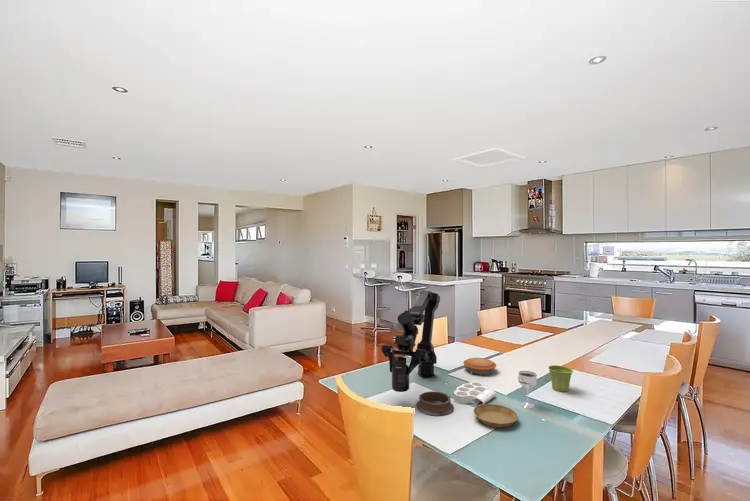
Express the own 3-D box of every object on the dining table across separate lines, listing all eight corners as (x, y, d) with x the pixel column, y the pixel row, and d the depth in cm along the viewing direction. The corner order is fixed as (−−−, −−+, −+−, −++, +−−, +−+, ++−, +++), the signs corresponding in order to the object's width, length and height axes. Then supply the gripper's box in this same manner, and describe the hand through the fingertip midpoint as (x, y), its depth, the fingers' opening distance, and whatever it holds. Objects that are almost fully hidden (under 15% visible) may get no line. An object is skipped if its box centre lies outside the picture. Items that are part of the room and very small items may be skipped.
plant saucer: (465, 420, 126) (465, 413, 126) (486, 406, 137) (486, 400, 137) (505, 436, 116) (505, 428, 116) (524, 420, 126) (524, 412, 126)
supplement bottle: (411, 387, 141) (411, 356, 141) (405, 393, 135) (405, 362, 135) (395, 384, 144) (395, 354, 144) (389, 390, 138) (388, 359, 138)
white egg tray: (479, 410, 134) (445, 399, 144) (499, 395, 147) (466, 386, 157) (479, 402, 134) (445, 391, 144) (499, 387, 147) (466, 378, 157)
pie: (500, 376, 167) (500, 366, 167) (467, 376, 168) (467, 366, 167) (490, 365, 183) (490, 355, 183) (460, 365, 183) (460, 355, 183)
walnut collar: (441, 397, 145) (441, 388, 145) (461, 412, 132) (461, 402, 132) (410, 402, 140) (410, 393, 140) (427, 418, 127) (427, 408, 127)
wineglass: (535, 410, 133) (535, 378, 132) (516, 406, 136) (516, 374, 136) (538, 403, 138) (538, 372, 138) (519, 399, 142) (519, 369, 142)
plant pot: (552, 383, 159) (552, 363, 159) (576, 389, 152) (576, 368, 152) (544, 389, 152) (544, 368, 152) (568, 395, 145) (568, 374, 145)
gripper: (382, 324, 147) (370, 359, 137) (426, 329, 139) (416, 366, 129) (390, 339, 154) (379, 373, 145) (432, 344, 146) (424, 380, 136)
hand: (399, 373), depth 138 cm, fingers closed on supplement bottle, 7 cm apart
